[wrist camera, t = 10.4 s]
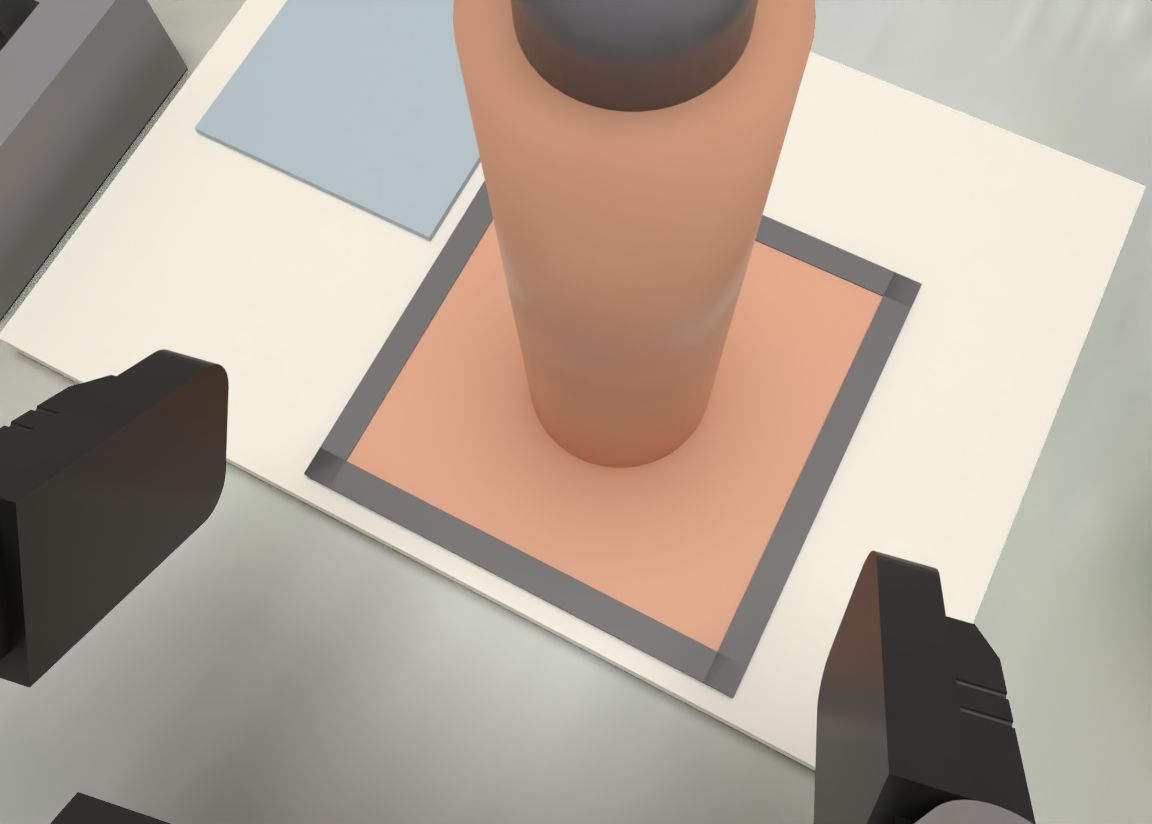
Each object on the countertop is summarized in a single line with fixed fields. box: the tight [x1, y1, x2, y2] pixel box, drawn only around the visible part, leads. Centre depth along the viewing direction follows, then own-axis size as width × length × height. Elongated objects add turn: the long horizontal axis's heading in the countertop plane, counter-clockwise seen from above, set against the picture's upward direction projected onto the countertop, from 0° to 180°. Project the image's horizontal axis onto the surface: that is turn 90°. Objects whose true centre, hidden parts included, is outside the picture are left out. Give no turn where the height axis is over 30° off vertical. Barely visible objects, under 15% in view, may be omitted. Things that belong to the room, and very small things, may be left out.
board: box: [0, 0, 1146, 771], centre depth 22 cm, size 20×14×1 cm
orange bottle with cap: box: [453, 0, 816, 468], centre depth 15 cm, size 4×4×13 cm
